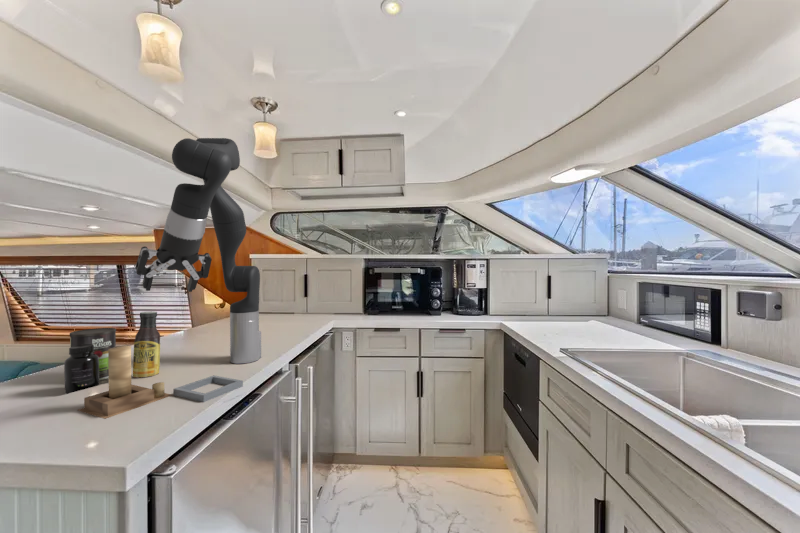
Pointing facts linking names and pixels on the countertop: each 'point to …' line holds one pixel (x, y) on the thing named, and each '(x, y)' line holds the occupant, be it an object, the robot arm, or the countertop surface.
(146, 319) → the sauce bottle
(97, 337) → the coffee can
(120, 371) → the dowel
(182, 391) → the tray
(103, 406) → the wooden slotted base
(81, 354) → the supplement bottle
